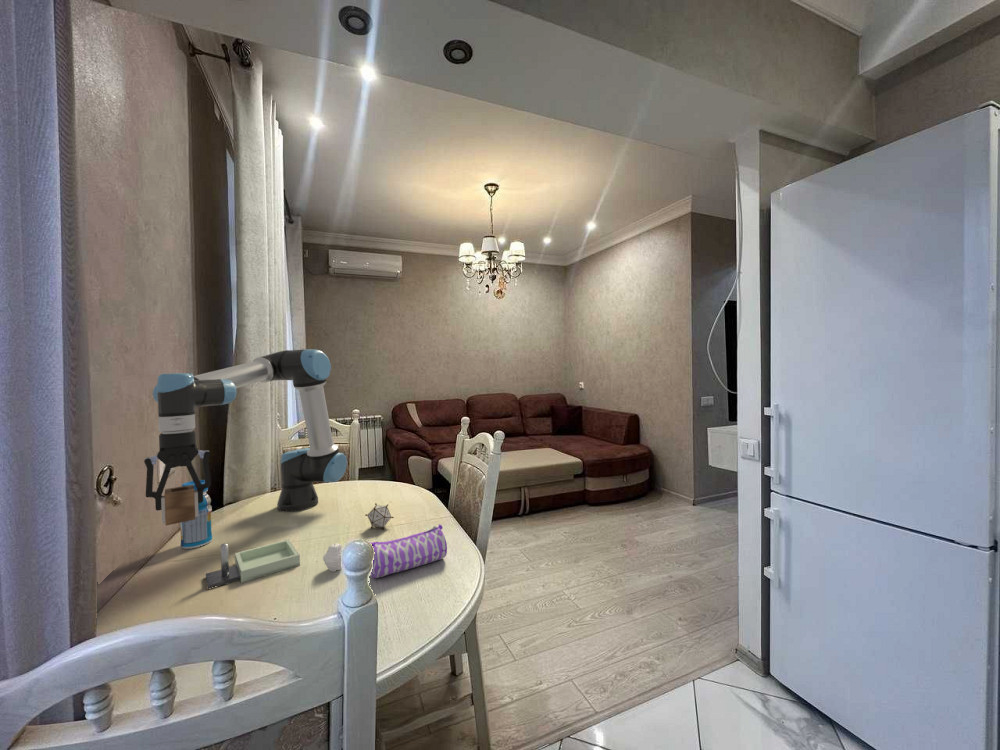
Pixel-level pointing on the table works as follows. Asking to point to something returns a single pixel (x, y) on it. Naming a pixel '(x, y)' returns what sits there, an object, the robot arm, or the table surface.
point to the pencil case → (408, 552)
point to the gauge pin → (223, 571)
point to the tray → (266, 560)
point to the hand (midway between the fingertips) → (180, 518)
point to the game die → (379, 516)
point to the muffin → (333, 557)
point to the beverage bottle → (197, 523)
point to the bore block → (179, 504)
